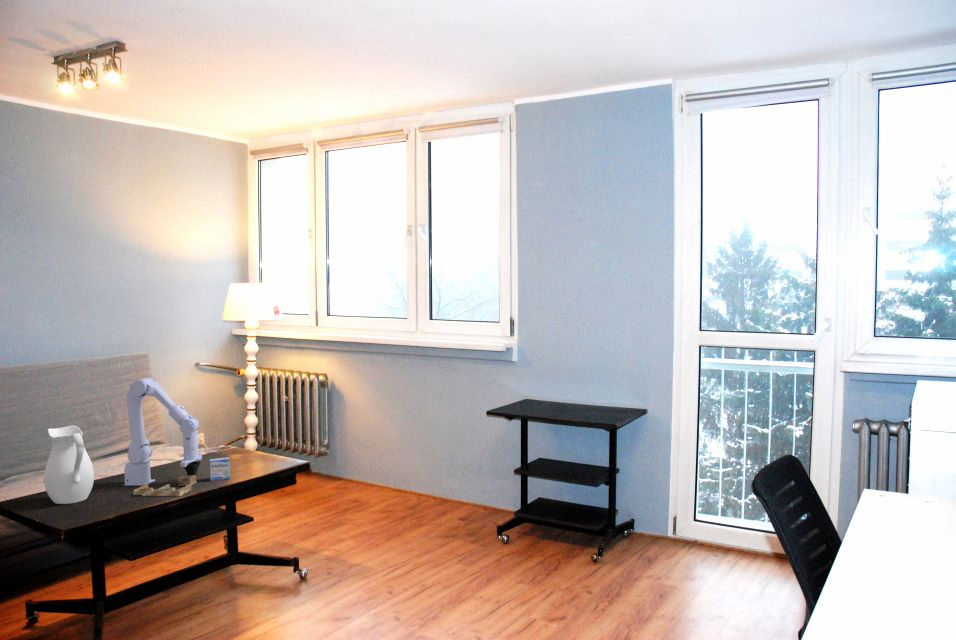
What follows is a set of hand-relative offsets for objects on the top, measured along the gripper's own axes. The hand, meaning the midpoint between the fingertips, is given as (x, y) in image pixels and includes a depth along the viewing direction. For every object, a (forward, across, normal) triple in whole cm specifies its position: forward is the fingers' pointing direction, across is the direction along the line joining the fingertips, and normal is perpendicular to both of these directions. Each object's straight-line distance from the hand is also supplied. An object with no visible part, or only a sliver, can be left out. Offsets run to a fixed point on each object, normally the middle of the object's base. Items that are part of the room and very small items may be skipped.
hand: (192, 480), depth 313 cm
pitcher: (+1, -28, +34) cm, 44 cm away
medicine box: (+1, +6, -10) cm, 11 cm away
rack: (+1, -16, +5) cm, 16 cm away
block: (+1, -4, 0) cm, 4 cm away
